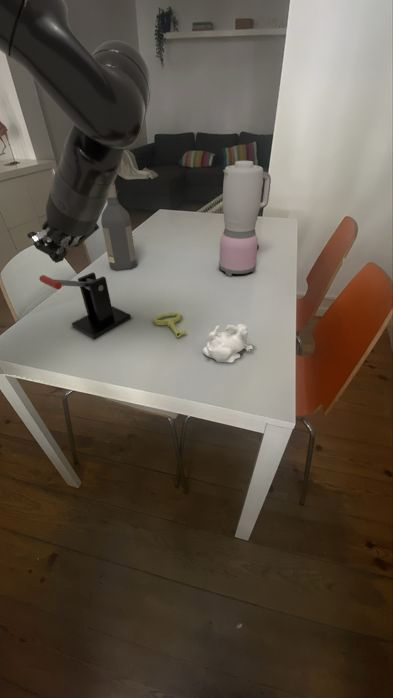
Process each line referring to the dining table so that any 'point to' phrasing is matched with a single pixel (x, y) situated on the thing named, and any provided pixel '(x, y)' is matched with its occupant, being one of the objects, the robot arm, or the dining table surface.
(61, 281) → the lever
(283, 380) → the dining table surface
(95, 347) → the dining table surface
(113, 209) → the liquor
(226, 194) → the blender
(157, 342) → the dining table surface
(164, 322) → the key
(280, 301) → the dining table surface
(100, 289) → the switch bracket
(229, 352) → the rabbit figurine
